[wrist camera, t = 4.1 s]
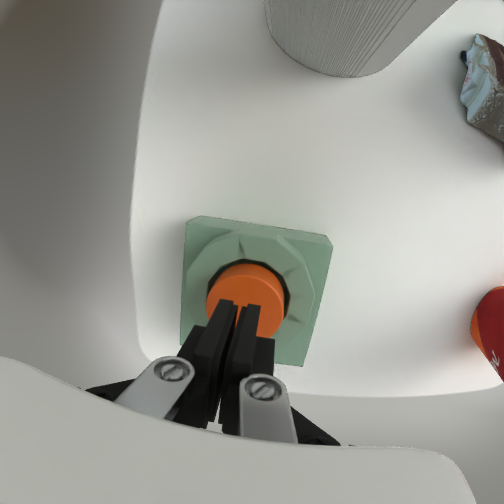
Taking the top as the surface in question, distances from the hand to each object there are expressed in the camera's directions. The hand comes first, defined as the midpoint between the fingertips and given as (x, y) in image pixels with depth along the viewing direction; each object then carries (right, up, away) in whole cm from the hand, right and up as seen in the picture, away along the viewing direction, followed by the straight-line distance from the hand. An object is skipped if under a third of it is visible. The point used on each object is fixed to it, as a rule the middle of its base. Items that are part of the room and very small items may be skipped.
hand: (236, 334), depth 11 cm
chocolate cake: (+19, +16, +2) cm, 25 cm away
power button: (0, +1, +3) cm, 3 cm away
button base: (+1, +1, +7) cm, 8 cm away
